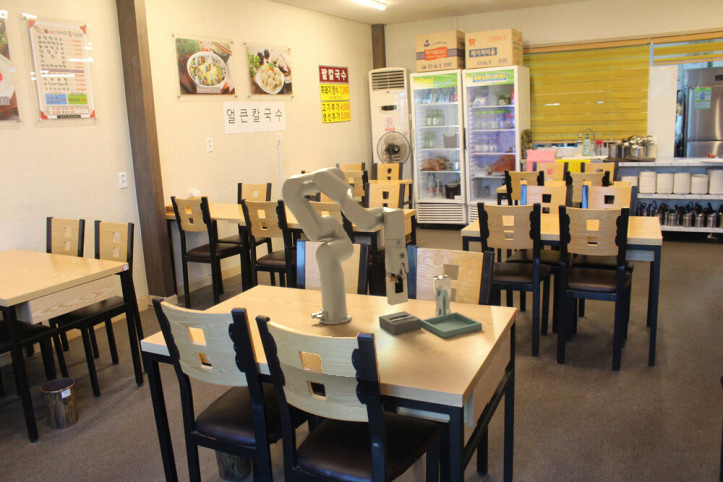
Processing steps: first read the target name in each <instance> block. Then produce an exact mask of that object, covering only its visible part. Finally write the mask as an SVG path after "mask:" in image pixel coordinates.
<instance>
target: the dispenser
mask: <svg viewBox="0 0 723 482" xmlns="http://www.w3.org/2000/svg"><path fill="white" fill-rule="evenodd" d="M421 320H422V319H421V318H419V317H417V316H415V315H413V314H412V313H409V312H407V311H406V310H405V311H400V312H399V311H397V312H393V313H390V314H385V315H380V316H378V323H379V328H381V329H382V330H385V331H386V332H388V333H389V334H391V335H393V336H396V337H397V336H399V335H405V334H408V333H412V332H416V331H420V330H421V331H422V327H421Z"/></svg>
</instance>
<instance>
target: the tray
mask: <svg viewBox="0 0 723 482" xmlns="http://www.w3.org/2000/svg"><path fill="white" fill-rule="evenodd" d="M482 325H483V323H482V322H480V321H479V320H475V319H473V318H471V317H468V316H467V315H464V314H462V313H459V312H451V314H446V315H442V316H437V315H436V316H434V317H429V318H424V319H421V329H424V330H426V331H429V332H430V333H432V334H434V335H436V336H438V337H440V338H442V339H444V340H446V339H449V338H453V337H457V336H462V335H467V334H470V333H475V332H479V331H482V330H483V326H482Z"/></svg>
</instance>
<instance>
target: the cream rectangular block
mask: <svg viewBox="0 0 723 482" xmlns="http://www.w3.org/2000/svg"><path fill="white" fill-rule="evenodd" d="M399 277H400V276H398V278H399ZM395 283H396V280H395V276H387V277H385V286H386V301H387V305H390V306H396V305H400V304H404V303H408V302H409V293H408V277H407V275H406V278H405V279H404V282H403V292H402V293H397V294H396V293H395Z"/></svg>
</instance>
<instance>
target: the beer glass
mask: <svg viewBox="0 0 723 482" xmlns="http://www.w3.org/2000/svg"><path fill="white" fill-rule="evenodd" d="M451 282H452V281H451V276H450V275H447V274H436V275H434V276H433V277H432V290H433V291H432V292H433V296H434V301H435V316H436V317H437V316H442V315H446V314H451V313H452V312H451V307H450V303H451V293H452V283H451Z"/></svg>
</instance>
